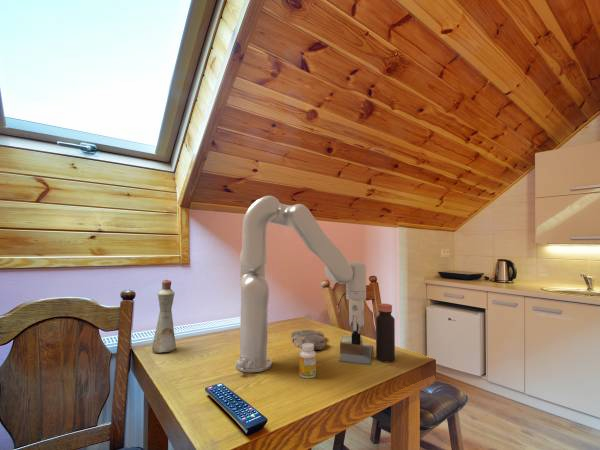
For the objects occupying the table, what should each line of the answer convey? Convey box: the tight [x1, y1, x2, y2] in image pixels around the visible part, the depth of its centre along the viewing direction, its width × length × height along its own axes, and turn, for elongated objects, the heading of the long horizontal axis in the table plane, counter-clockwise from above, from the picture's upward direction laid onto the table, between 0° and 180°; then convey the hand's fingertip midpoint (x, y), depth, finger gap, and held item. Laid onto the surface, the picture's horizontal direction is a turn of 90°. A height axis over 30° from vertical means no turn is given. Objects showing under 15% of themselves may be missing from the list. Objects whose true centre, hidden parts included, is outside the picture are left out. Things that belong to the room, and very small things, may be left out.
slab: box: [339, 334, 363, 355], centre depth 124 cm, size 4×8×10 cm
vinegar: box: [375, 303, 396, 363], centre depth 117 cm, size 7×7×20 cm
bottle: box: [151, 278, 177, 354], centre depth 124 cm, size 9×9×28 cm
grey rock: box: [291, 329, 327, 351], centre depth 133 cm, size 14×5×20 cm
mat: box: [339, 344, 373, 366], centre depth 122 cm, size 20×11×1 cm, turn 165°
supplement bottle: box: [298, 343, 317, 379], centre depth 102 cm, size 5×5×10 cm
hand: (356, 343), depth 118 cm, fingers closed
